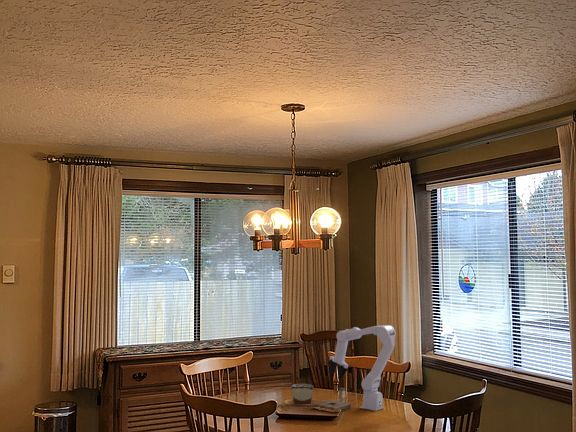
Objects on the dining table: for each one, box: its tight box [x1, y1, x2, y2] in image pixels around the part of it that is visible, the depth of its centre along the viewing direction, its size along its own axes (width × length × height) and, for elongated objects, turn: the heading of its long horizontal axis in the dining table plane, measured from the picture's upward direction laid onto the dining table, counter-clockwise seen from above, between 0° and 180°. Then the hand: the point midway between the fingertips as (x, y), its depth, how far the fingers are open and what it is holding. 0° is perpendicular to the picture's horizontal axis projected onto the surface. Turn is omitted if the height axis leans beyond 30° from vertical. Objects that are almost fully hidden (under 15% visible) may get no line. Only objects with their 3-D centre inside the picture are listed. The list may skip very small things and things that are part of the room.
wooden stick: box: [338, 387, 346, 403], centre depth 322 cm, size 2×2×8 cm
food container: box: [290, 383, 315, 405], centre depth 319 cm, size 12×6×10 cm, turn 84°
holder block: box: [312, 399, 352, 413], centre depth 309 cm, size 14×14×2 cm
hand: (335, 376), depth 325 cm, fingers open, 7 cm apart
